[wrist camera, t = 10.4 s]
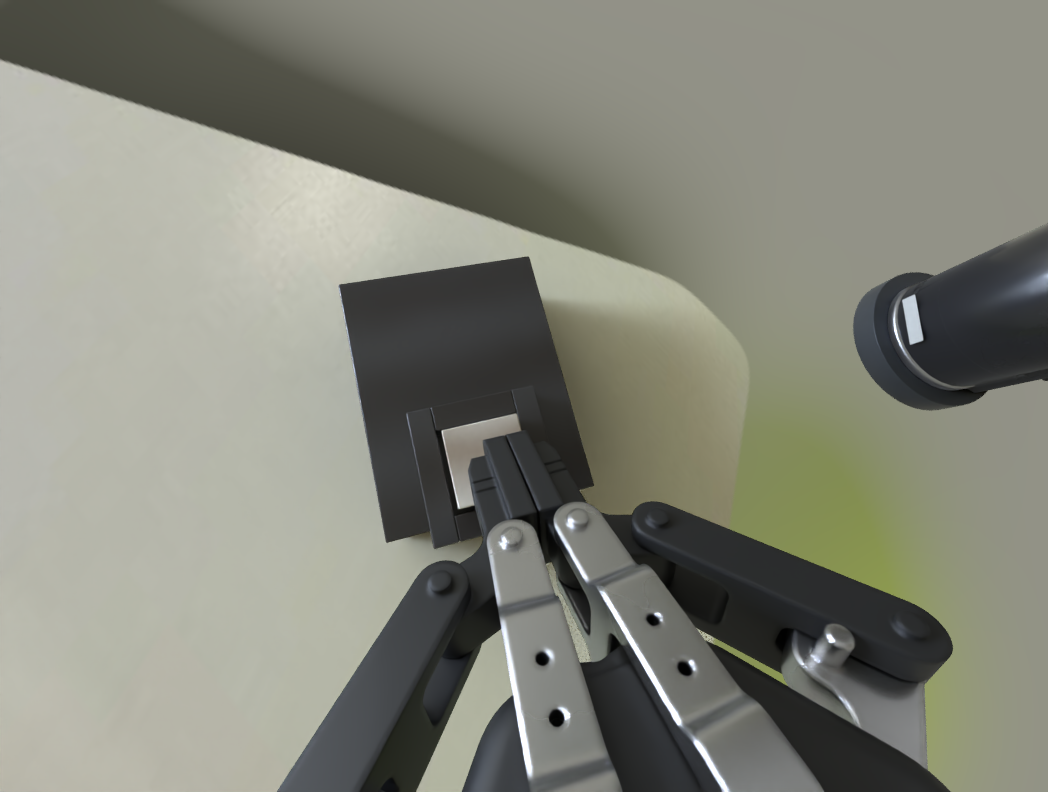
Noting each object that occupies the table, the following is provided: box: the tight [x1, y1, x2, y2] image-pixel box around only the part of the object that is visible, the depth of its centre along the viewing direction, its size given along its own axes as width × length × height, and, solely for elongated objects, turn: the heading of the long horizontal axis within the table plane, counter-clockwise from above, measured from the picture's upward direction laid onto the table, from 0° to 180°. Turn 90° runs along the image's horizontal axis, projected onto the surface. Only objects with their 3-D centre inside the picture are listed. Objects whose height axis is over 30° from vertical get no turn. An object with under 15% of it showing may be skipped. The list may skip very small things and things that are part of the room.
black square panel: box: [339, 257, 594, 549], centre depth 25 cm, size 15×11×7 cm
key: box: [442, 414, 522, 509], centre depth 20 cm, size 4×4×2 cm
